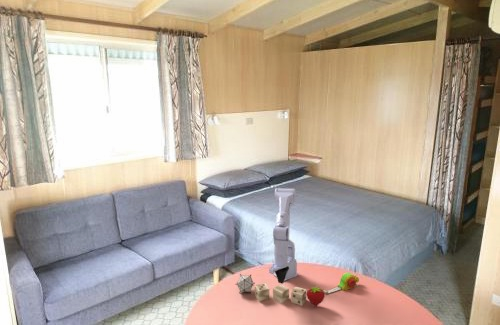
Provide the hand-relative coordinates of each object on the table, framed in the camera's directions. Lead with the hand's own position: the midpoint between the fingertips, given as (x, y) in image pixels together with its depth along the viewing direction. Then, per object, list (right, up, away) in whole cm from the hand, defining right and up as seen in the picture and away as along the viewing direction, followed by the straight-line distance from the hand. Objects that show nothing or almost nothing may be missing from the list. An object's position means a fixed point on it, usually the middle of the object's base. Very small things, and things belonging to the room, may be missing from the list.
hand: (281, 282), depth 150 cm
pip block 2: (+8, -8, 0) cm, 11 cm away
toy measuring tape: (+29, -6, +9) cm, 31 cm away
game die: (-16, -7, +8) cm, 19 cm away
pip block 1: (-8, -8, +3) cm, 12 cm away
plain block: (0, -8, +2) cm, 8 cm away
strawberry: (+14, -9, -4) cm, 17 cm away
